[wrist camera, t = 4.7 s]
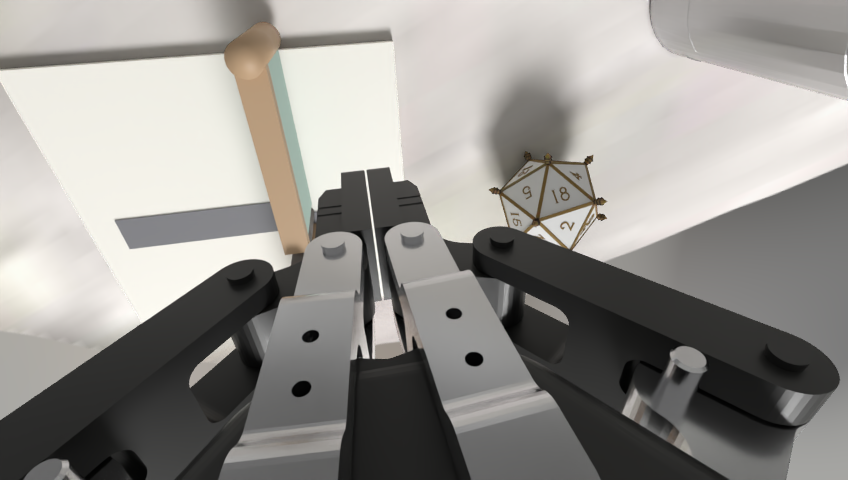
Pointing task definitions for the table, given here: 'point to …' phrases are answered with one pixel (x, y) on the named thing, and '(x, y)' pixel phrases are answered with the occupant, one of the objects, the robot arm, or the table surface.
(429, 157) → the table surface
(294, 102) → the board
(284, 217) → the tan and green panel
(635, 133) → the table surface
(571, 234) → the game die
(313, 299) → the robot arm
